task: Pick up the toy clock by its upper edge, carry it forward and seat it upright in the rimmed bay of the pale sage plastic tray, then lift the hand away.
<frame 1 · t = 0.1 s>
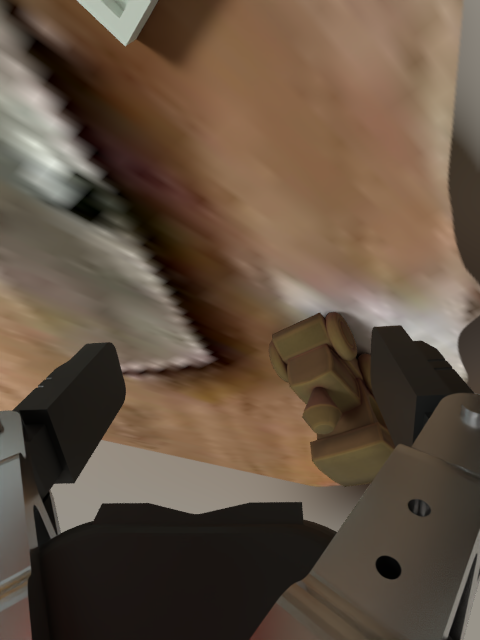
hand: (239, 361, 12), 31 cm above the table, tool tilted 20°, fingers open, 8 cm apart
wooden toy train: (327, 350, 58), on the table
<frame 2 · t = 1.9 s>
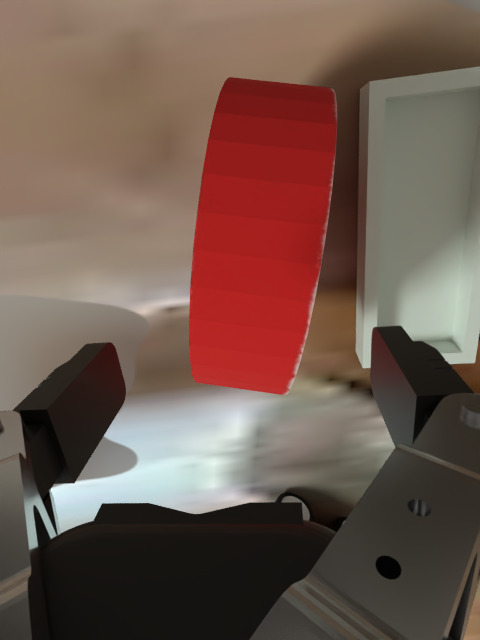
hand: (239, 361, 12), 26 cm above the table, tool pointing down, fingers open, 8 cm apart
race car: (294, 535, 53), on the table
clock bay: (414, 232, 35), on the table
toy clock: (263, 224, 36), on the table
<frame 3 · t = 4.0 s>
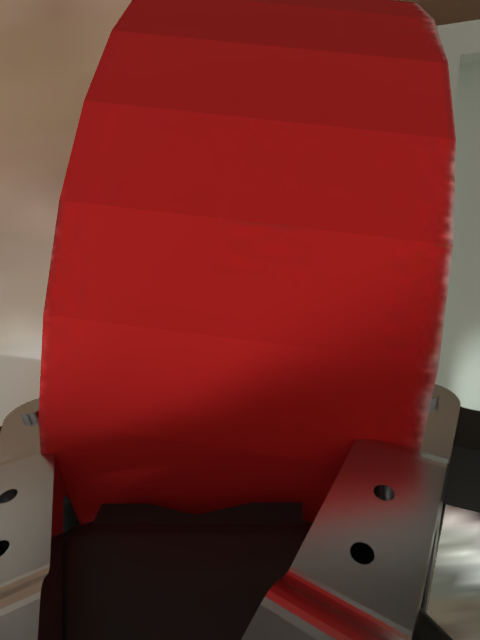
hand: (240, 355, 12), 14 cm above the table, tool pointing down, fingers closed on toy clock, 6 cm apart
toy clock: (258, 254, 25), on the table, touching gripper
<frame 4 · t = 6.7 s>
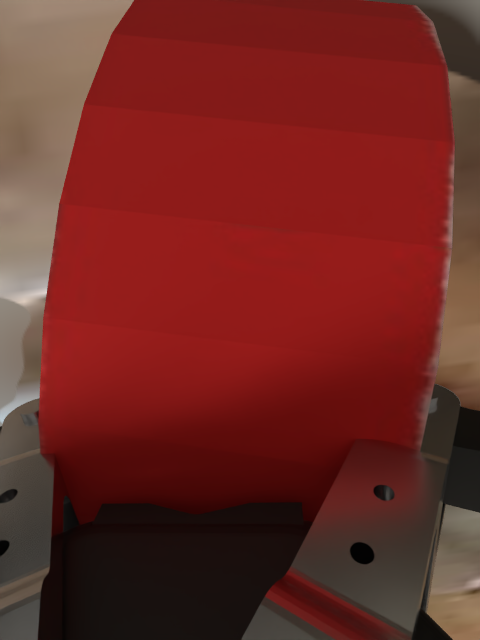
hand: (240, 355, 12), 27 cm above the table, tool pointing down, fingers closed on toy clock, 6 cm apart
toy clock: (258, 254, 25), point 13 cm above the table, touching gripper
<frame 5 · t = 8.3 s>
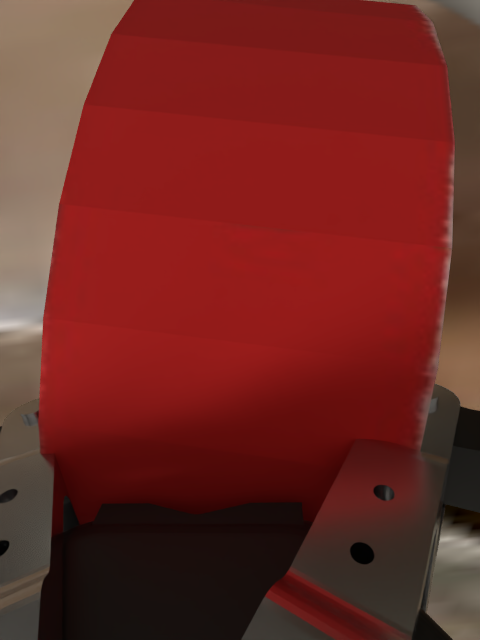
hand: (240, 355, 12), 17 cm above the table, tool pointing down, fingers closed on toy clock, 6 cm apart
toy clock: (258, 254, 25), point 3 cm above the table, touching gripper
when the fingers open (16 cm above the table, at t = 9.6 s): toy clock drops 1 cm, resting on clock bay.
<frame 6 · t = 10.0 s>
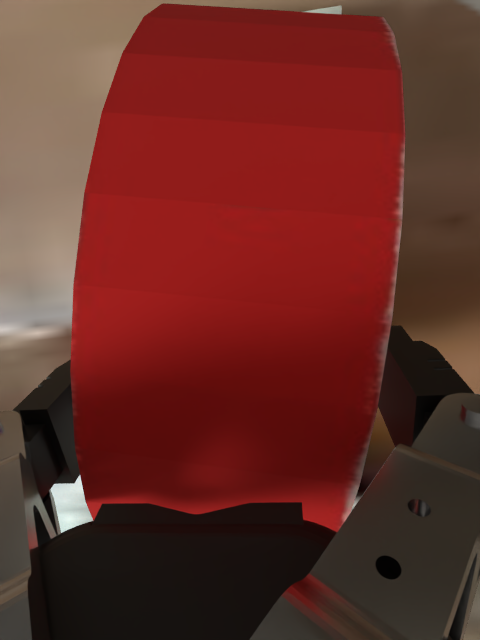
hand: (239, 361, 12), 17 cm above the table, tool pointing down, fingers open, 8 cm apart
toy clock: (258, 248, 26), point 1 cm above the table, touching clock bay
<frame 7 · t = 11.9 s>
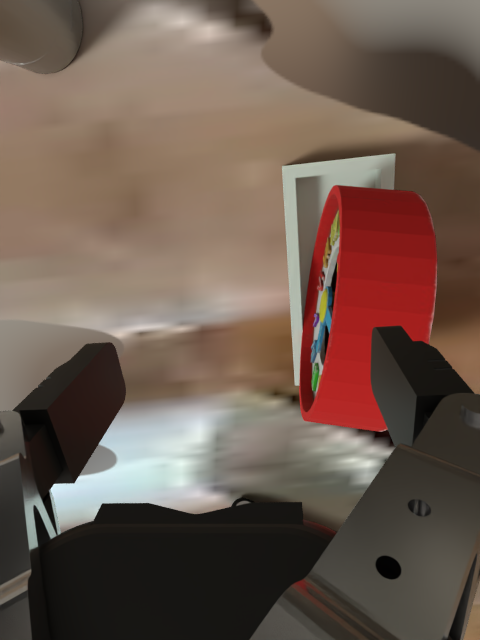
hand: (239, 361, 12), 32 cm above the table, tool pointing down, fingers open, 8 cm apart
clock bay: (334, 275, 43), on the table
toy clock: (335, 277, 42), point 1 cm above the table, touching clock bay
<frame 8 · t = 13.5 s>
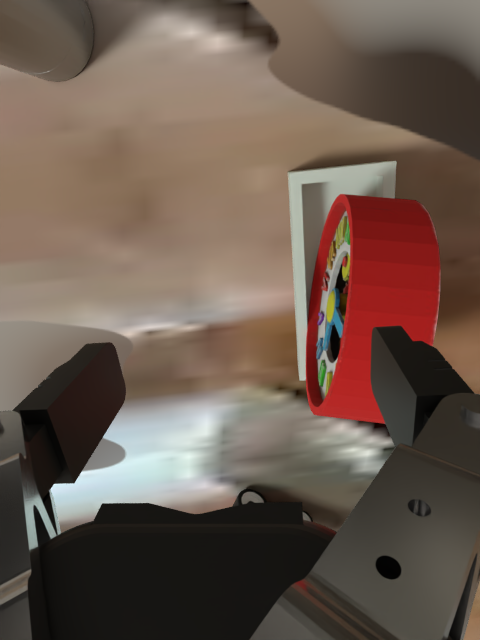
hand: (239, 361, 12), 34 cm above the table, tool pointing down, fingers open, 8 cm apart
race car: (257, 525, 64), on the table
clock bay: (337, 275, 45), on the table
toy clock: (338, 277, 44), point 1 cm above the table, touching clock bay
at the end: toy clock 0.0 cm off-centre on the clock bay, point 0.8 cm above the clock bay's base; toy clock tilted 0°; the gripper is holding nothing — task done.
